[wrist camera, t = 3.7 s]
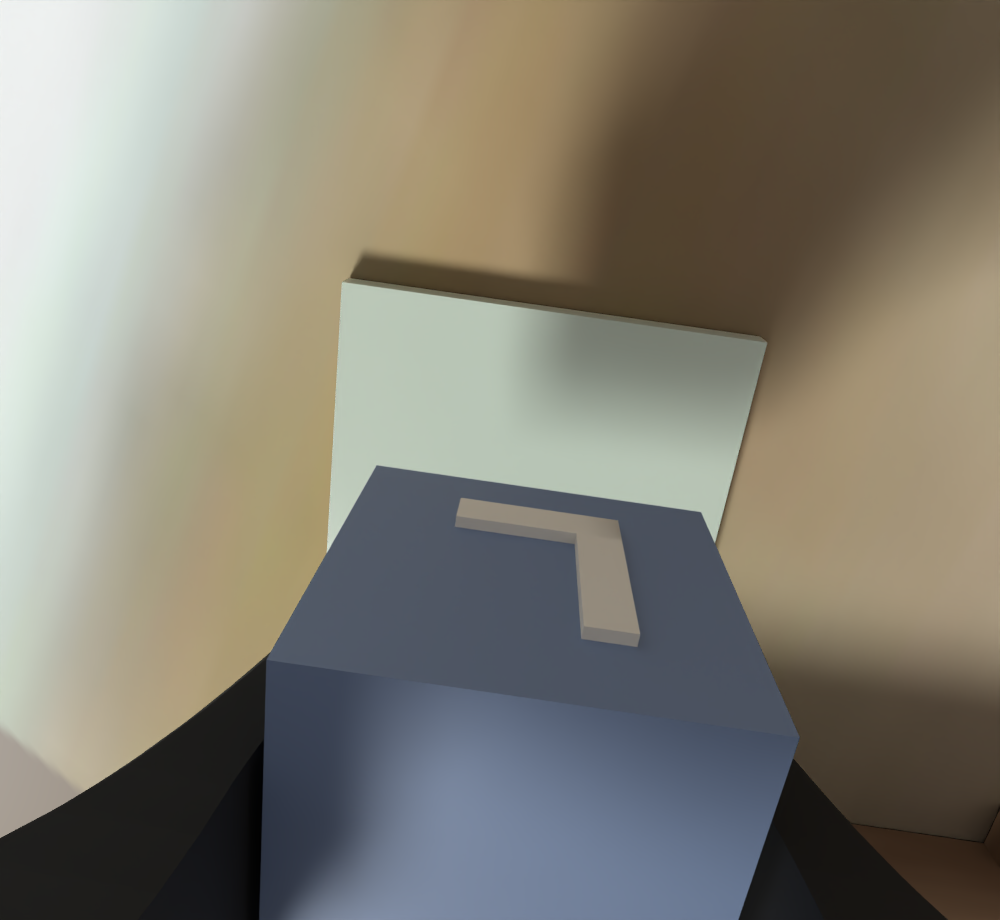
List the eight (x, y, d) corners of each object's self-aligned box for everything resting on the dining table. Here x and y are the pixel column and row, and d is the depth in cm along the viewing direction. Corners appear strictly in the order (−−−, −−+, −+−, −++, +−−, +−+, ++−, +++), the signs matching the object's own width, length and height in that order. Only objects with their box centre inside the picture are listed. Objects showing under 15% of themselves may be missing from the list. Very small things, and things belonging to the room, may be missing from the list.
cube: (637, 768, 14) (684, 1081, 9) (355, 726, 14) (256, 1017, 9) (703, 502, 12) (804, 723, 7) (377, 455, 12) (266, 645, 7)
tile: (672, 677, 20) (675, 692, 20) (327, 627, 20) (322, 640, 20) (760, 336, 17) (767, 342, 16) (348, 278, 17) (342, 281, 16)
